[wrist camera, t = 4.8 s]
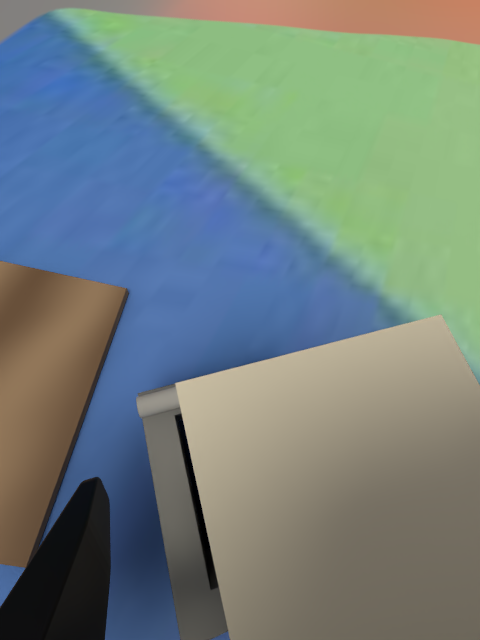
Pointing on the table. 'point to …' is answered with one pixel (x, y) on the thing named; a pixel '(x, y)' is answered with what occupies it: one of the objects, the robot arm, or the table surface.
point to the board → (45, 390)
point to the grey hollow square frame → (180, 519)
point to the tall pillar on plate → (343, 488)
